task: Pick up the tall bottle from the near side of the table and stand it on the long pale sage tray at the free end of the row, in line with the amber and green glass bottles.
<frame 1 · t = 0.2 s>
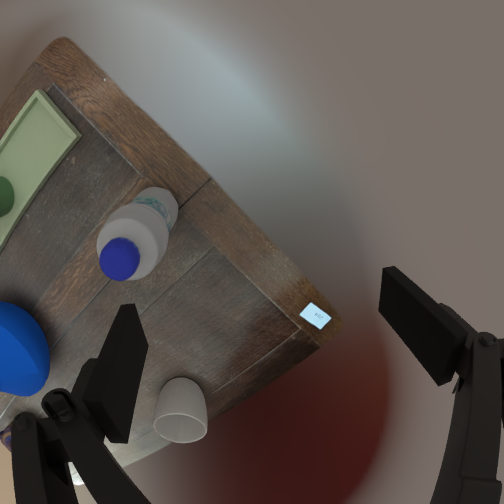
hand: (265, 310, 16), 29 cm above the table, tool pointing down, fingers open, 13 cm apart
mug: (177, 392, 54), on the table
green bottle: (0, 195, 36), resting on tray
bowl: (41, 428, 57), on the table
vase: (22, 328, 46), on the table
bottle: (157, 206, 42), on the table
tray: (3, 194, 37), on the table
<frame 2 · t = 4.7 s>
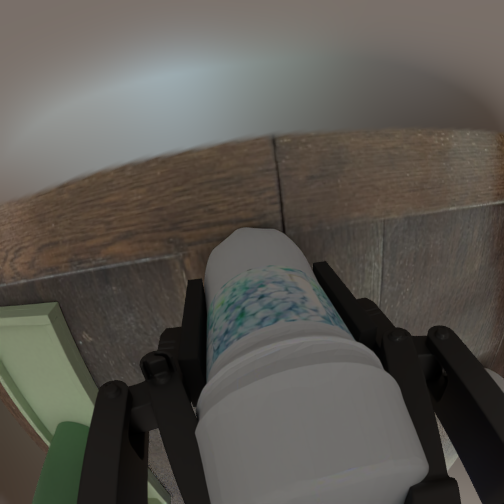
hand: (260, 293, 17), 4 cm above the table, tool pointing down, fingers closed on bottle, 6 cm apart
green bottle: (83, 438, 25), resting on tray
bottle: (252, 263, 21), on the table, touching gripper
tray: (84, 433, 26), on the table
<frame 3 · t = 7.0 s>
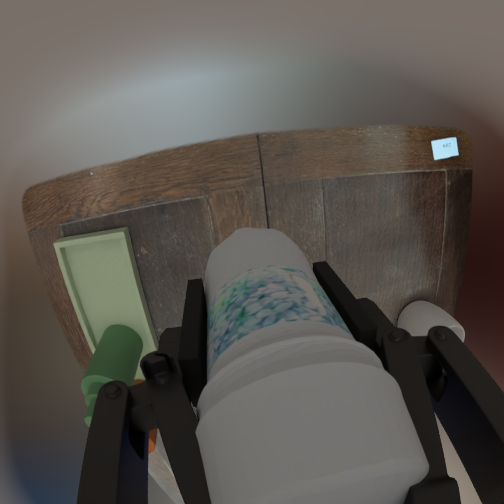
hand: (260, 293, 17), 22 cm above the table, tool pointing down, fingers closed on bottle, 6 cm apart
mug: (411, 324, 48), on the table
green bottle: (122, 341, 42), resting on tray
bottle: (252, 263, 21), point 18 cm above the table, touching gripper
tray: (123, 338, 43), on the table
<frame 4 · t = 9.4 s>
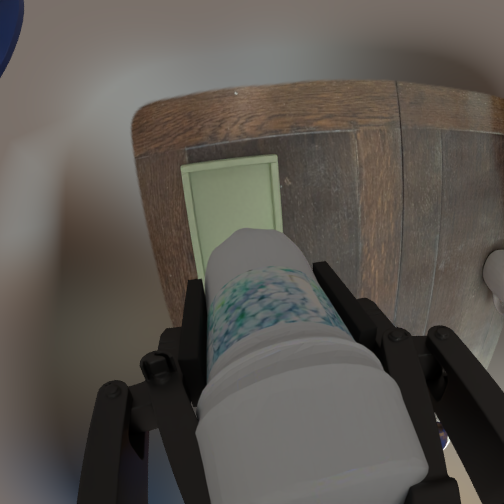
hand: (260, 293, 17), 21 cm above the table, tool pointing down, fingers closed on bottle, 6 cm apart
mug: (490, 273, 47), on the table
bottle: (252, 263, 21), point 17 cm above the table, touching gripper
tray: (243, 289, 41), on the table
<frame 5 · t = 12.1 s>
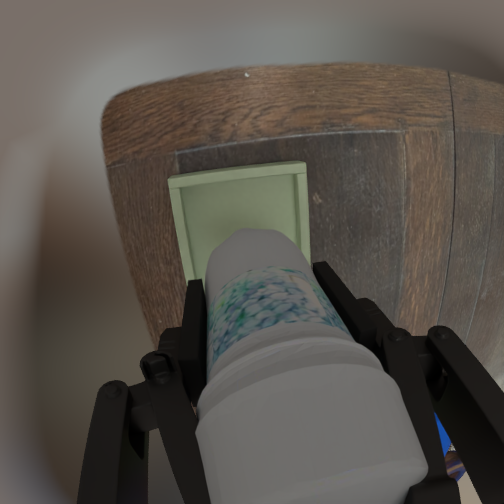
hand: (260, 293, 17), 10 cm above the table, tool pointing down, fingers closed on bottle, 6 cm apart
bowl: (421, 461, 52), on the table
bottle: (252, 263, 21), point 6 cm above the table, touching gripper
tray: (255, 337, 31), on the table
when the fingers open (5 cm above the table, at t = 14.1 s): bottle stays where it is, resting on tray.
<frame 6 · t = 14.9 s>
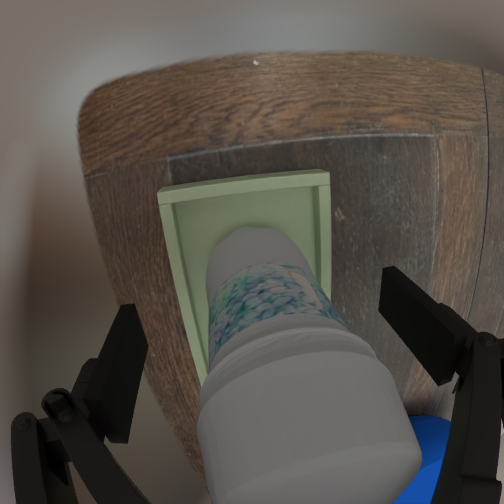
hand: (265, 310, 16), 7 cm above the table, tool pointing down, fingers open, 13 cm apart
vase: (390, 437, 35), on the table
bottle: (252, 261, 22), point 1 cm above the table, touching tray
tray: (263, 371, 26), on the table
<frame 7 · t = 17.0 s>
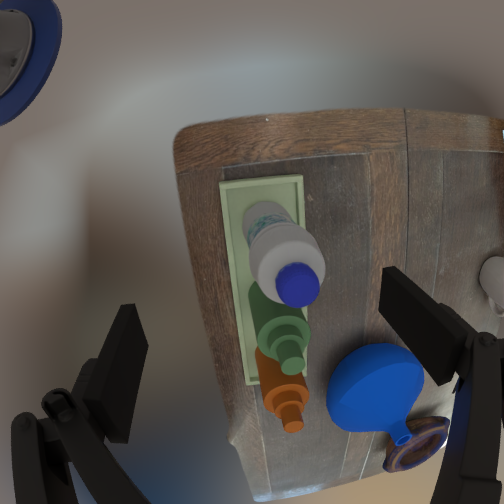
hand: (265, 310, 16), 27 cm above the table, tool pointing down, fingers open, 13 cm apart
mug: (487, 278, 52), on the table
green bottle: (269, 294, 46), resting on tray
bowl: (407, 427, 67), on the table
vase: (361, 365, 55), on the table
amber bottle: (274, 352, 50), resting on tray
bottle: (264, 221, 42), point 1 cm above the table, touching tray
tray: (269, 291, 46), on the table
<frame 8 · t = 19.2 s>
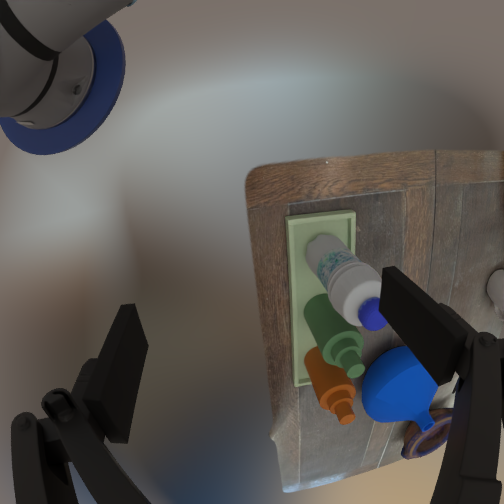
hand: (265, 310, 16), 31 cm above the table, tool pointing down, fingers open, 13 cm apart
mug: (493, 287, 59), on the table
green bottle: (321, 309, 52), resting on tray
bowl: (421, 418, 74), on the table
vase: (388, 365, 61), on the table
amber bottle: (320, 357, 56), resting on tray
bottle: (321, 249, 48), point 1 cm above the table, touching tray
tray: (320, 307, 53), on the table
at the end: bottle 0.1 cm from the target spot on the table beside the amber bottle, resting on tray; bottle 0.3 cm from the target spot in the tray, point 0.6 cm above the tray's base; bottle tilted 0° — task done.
